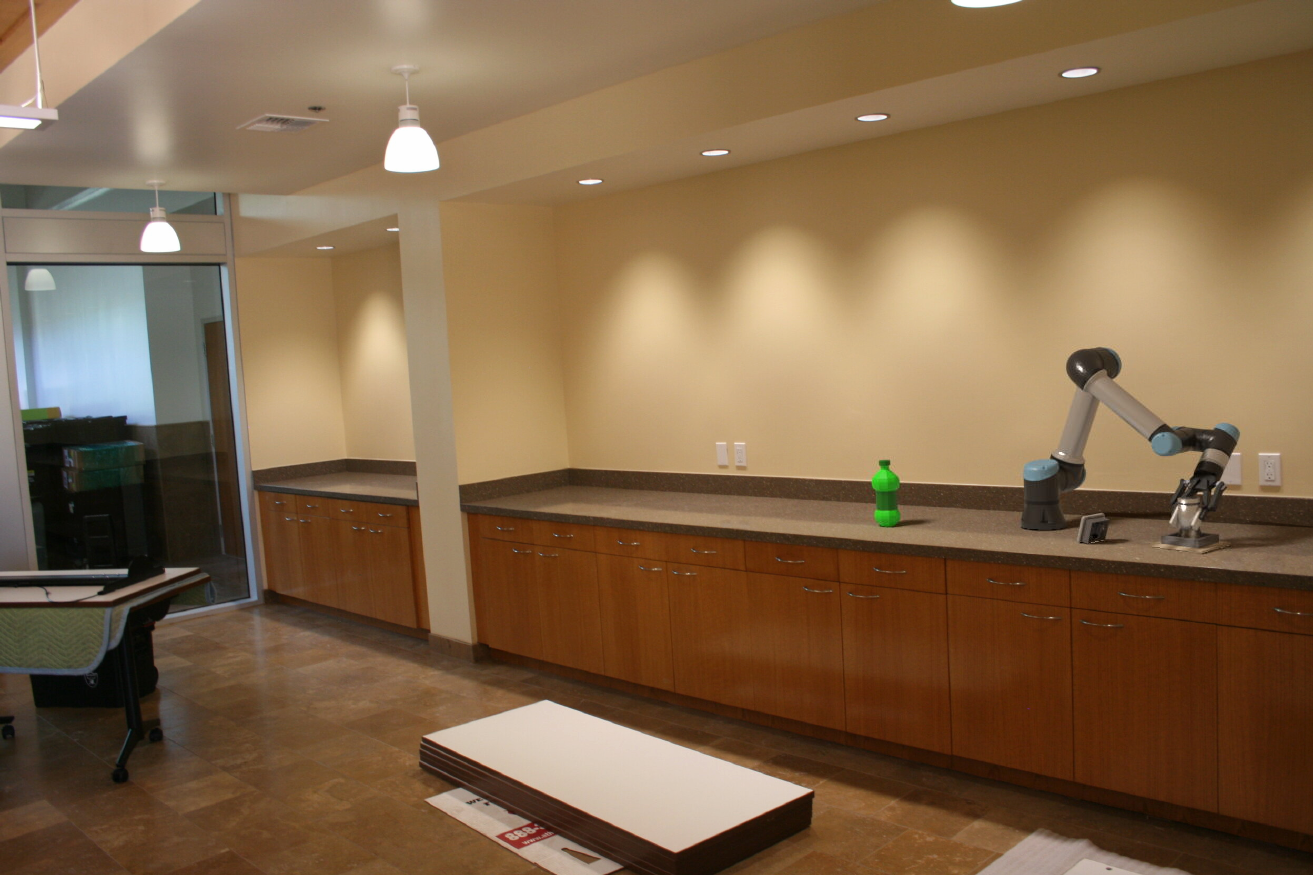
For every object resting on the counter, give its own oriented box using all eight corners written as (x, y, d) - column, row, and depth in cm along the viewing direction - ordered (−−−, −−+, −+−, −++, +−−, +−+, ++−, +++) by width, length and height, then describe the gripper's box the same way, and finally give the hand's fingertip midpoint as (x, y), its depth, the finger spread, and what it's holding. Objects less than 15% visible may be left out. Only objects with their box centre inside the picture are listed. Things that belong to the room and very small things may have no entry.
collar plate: (1150, 547, 297) (1149, 536, 297) (1179, 538, 305) (1178, 528, 305) (1201, 554, 283) (1201, 542, 283) (1231, 545, 292) (1230, 533, 291)
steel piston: (1174, 537, 295) (1172, 499, 294) (1185, 534, 298) (1184, 496, 297) (1194, 539, 290) (1193, 500, 289) (1206, 536, 293) (1204, 497, 292)
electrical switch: (1097, 539, 314) (1098, 511, 313) (1110, 542, 310) (1111, 515, 308) (1076, 543, 311) (1077, 515, 309) (1089, 547, 306) (1090, 519, 304)
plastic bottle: (899, 522, 369) (895, 458, 366) (903, 527, 358) (900, 461, 356) (872, 523, 370) (869, 459, 368) (876, 528, 359) (872, 462, 357)
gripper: (1247, 476, 292) (1219, 537, 285) (1185, 472, 309) (1158, 530, 302) (1237, 461, 289) (1209, 522, 282) (1176, 457, 305) (1147, 516, 298)
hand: (1183, 526), depth 292 cm, fingers closed on steel piston, 6 cm apart
